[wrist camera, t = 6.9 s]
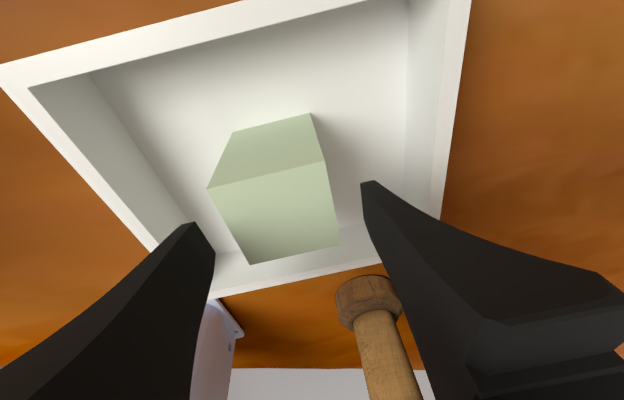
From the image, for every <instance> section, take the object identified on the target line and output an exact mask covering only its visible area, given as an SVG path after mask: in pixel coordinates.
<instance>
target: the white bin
mask: <svg viewBox="0 0 624 400" xmlns="http://www.w3.org/2000/svg"><path fill="white" fill-rule="evenodd" d="M470 7H471V0H243V1H239V2H235V3H232V4H228V5H224V6H220V7H216V8H213V9H209V10H205V11H201V12H197V13H194V14H190V15H186V16H182V17H178V18H175V19H171V20H167V21H163V22H159V23H156V24H152V25H148V26H144V27H140V28H137V29H133V30H129V31H125V32H122V33H118V34H114V35H110V36H106V37H103V38H99V39H95V40H91V41H87V42H84V43H80V44H76V45H72V46H68V47H65V48H61V49H57V50H53V51H49V52H46V53H42V54H38V55H34V56H30V57H27V58H23V59H19V60H15V61H12V62H8V63H4V64H0V87H1V88H2V89H3V90H4V91H5V92H6V93H7V95H8V96H9V97H10V98H11V99H12V100H13V101H14V102H15V103H16V105H17V106H18V107H19V108H20V109H21V110H22V111H23V112H24V113H25V114H26V116H27V117H28V118H29V119H30V120H31V121H32V122H33V123H34V124H35V126H36V127H37V128H38V129H39V130H40V131H41V132H42V133H43V134H44V136H45V137H46V138H47V139H48V140H49V141H50V142H51V143H52V144H53V145H54V147H55V148H56V149H57V150H58V151H59V152H60V153H61V154H62V155H63V157H64V158H65V159H66V160H67V161H68V162H69V163H70V164H71V165H72V166H73V168H74V169H75V170H76V171H77V172H78V173H79V174H80V175H81V176H82V178H83V179H84V180H85V181H86V182H87V183H88V184H89V185H90V186H91V188H92V189H93V190H94V191H95V192H96V193H97V194H98V195H99V196H100V197H101V199H102V200H103V201H104V202H105V203H106V204H107V205H108V206H109V207H110V209H111V210H112V211H113V212H114V213H115V214H116V215H117V216H118V217H119V219H120V220H121V221H122V222H123V223H124V224H125V225H126V226H127V227H128V228H129V230H130V231H131V232H132V233H133V234H134V235H135V236H136V237H137V238H138V240H139V241H140V242H141V243H142V244H143V245H144V246H145V247H146V248H147V250H148V251H149V252H150V253H151V252H152V251H153V250H154V249H155V248H156V247H157V246H158V245H159V244H160V243H161V242H162V241H164V240H165V239H166V238H167V237H168V236H169V235H170V234H171V233H172V232H173V231H174V230H175V229H176V228H178V227H179V226H180V225H181V224H185V223H190V222H194V221H195V222H196V223H197V225H198V226H199V228H200V229H201V231H202V232H203V234H204V235H205V237H206V239H207V240H208V242H209V243H210V245H211V246H212V248H213V249H214V251H215V252H216V257H215V267H214V275H213V279H212V283H211V287H210V291H209V294H208V298H207V300H211V299H216V298H220V297H225V296H230V295H234V294H239V293H244V292H248V291H253V290H257V289H262V288H267V287H271V286H276V285H281V284H285V283H290V282H295V281H299V280H304V279H309V278H313V277H318V276H323V275H327V274H332V273H336V272H341V271H346V270H350V269H355V268H360V267H364V266H369V265H374V264H378V263H382V261H381V259H380V257H379V255H378V253H377V251H376V249H375V247H374V245H373V243H372V241H371V239H370V236H369V233H368V230H367V228H366V225H365V222H364V218H363V208H362V199H361V189H360V183H362V182H367V181H371V180H375V181H377V182H378V183H380V184H381V185H383V186H384V187H385V188H387V189H388V190H390V191H391V192H392V193H394V194H395V195H397V196H398V197H400V198H401V199H403V200H404V201H406V202H408V203H409V204H411V205H412V206H414V207H416V208H417V209H419V210H421V211H423V212H425V213H426V214H428V215H430V216H432V217H434V218H436V219H438V220H440V214H441V207H442V200H443V193H444V187H445V180H446V173H447V166H448V159H449V152H450V145H451V138H452V131H453V124H454V118H455V111H456V104H457V97H458V90H459V83H460V76H461V69H462V62H463V55H464V49H465V42H466V35H467V28H468V21H469V14H470ZM306 113H310V116H311V119H312V122H313V125H314V128H315V131H316V135H317V138H318V141H319V144H320V147H321V150H322V154H323V157H324V160H325V164H326V169H327V174H328V179H329V184H330V189H331V194H332V199H333V204H334V209H335V214H336V218H337V223H338V228H339V233H340V238H341V243H342V245H338V246H334V247H329V248H325V249H320V250H316V251H312V252H307V253H303V254H298V255H294V256H289V257H285V258H280V259H276V260H272V261H267V262H263V263H258V264H254V265H249V263H248V261H247V260H246V258H245V256H244V255H243V253H242V251H241V249H240V248H239V246H238V244H237V242H236V241H235V239H234V237H233V235H232V234H231V232H230V230H229V229H228V227H227V225H226V223H225V222H224V220H223V218H222V216H221V215H220V213H219V211H218V209H217V208H216V206H215V204H214V203H213V201H212V199H211V197H210V196H209V194H208V192H207V190H206V188H207V186H208V184H209V182H210V179H211V177H212V175H213V173H214V171H215V169H216V167H217V164H218V162H219V160H220V158H221V156H222V154H223V151H224V149H225V147H226V145H227V143H228V141H229V139H230V136H231V134H232V132H234V131H238V130H242V129H246V128H250V127H254V126H258V125H262V124H266V123H270V122H274V121H278V120H282V119H286V118H290V117H294V116H298V115H302V114H306Z"/></svg>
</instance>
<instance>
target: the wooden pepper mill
mask: <svg viewBox="0 0 624 400" xmlns="http://www.w3.org/2000/svg"><path fill="white" fill-rule="evenodd" d="M335 303H336V308H337V314H338V319H339V322H340V323H341V324H342V325H343V326H344V327H346V328H348V329H349V330H351V331H352V332H354V333H355V336H356V340H357V344H358V349H359V353H360V357H361V362H362V366H363V371H364V375H365V380H366V384H367V389H368V393H369V398H370V400H424V399H423V396H422V394H421V391H420V388H419V385H418V383H417V380H416V378H415V375H414V372H413V369H412V367H411V364H410V361H409V359H408V356H407V353H406V350H405V348H404V345H403V342H402V339H401V337H400V334H399V331H398V328H397V325H396V322H397V320H398V318H399V316H400V315H401V313H402V310H403V307H402V305H401V302H400V299H399V297H398V294H397V292H396V290H395V287H394V285H393V283H392V281H391V280H389V279H387V278H385V277H382V276H377V275H368V276H362V277H358V278H355V279H352V280H350V281H348V282H346V283H344V284H343V285H342V286H341V287H340V288H339V289H338V290H337V292H336V295H335Z"/></svg>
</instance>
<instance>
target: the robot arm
mask: <svg viewBox="0 0 624 400" xmlns="http://www.w3.org/2000/svg"><path fill="white" fill-rule="evenodd" d="M360 189H361V199H362V208H363V218H364V222H365V225H366V228H367V230H368V233H369V236H370V239H371V241H372V243H373V245H374V247H375V249H376V251H377V253H378V255H379V257H380V259H381V261H382V263H383V265H384V267H385V269H386V271H387V273H388V275H389V277H390V279H391V281H392V283H393V285H394V287H395V290H396V292H397V294H398V297H399V299H400V302H401V305H402V307H403V310H404V312H405V315H406V318H407V320H408V323H409V326H410V328H411V331H412V334H413V336H414V339H415V342H416V345H417V347H418V350H419V353H420V356H421V359H422V361H423V364H424V367H425V370H426V373H427V376H428V378H429V382H430V384H431V387H432V390H433V393H434V396H435V399H436V400H624V360H623V359H622V358H621V357H620V356H619V355H618V354H617V353H616V352H615V351H614V349H616V348H617V347H618V346H619V345H621V344H622V343H623V342H624V293H623V292H622V291H621V290H619V289H618V288H617V287H616V286H614V285H613V284H612V283H610V282H609V281H608V280H606V279H605V278H604V277H602V276H601V275H600V274H598V273H597V272H593V271H589V270H585V269H581V268H577V267H574V266H570V265H566V264H562V263H558V262H554V261H550V260H546V259H543V258H539V257H536V256H532V255H529V254H526V253H523V252H519V251H516V250H513V249H510V248H507V247H504V246H501V245H498V244H495V243H492V242H490V241H487V240H484V239H482V238H479V237H476V236H474V235H471V234H469V233H466V232H464V231H461V230H459V229H457V228H455V227H453V226H450V225H448V224H446V223H444V222H442V221H440V220H438V219H436V218H434V217H432V216H430V215H428V214H426V213H425V212H423V211H421V210H419V209H417V208H416V207H414V206H412V205H411V204H409V203H408V202H406V201H404V200H403V199H401V198H400V197H398V196H397V195H395V194H394V193H392V192H391V191H390V190H388V189H387V188H385V187H384V186H383V185H381V184H380V183H378V182H377V181H375V180H371V181H367V182H362V183H360ZM215 257H216V252H215V251H214V249H213V248H212V246H211V245H210V243H209V242H208V240H207V239H206V237H205V235H204V234H203V232H202V231H201V229H200V228H199V226H198V225H197V223H196V222H195V221H194V222H190V223H185V224H181V225H180V226H179V227H178V228H176V229H175V230H174V231H173V232H172V233H171V234H170V235H169V236H168V237H167V238H166V239H165V240H164V241H162V242H161V243H160V244H159V245H158V246H157V247H156V248H155V249H154V250H153V251H152V252H151V253H150V254H149V255H148V256H147V257H146V258H145V259H144V260H143V261H142V262H141V263H140V264H139V265H138V266H136V267H135V268H134V269H133V270H132V271H131V272H130V273H129V274H128V275H127V276H126V277H124V278H123V279H122V280H121V281H120V282H119V283H118V284H117V285H116V286H114V287H113V288H112V289H111V290H110V291H109V292H107V293H106V294H105V295H104V296H103V297H101V298H100V299H99V300H98V301H96V302H95V303H94V304H93V305H91V306H90V307H89V308H88V309H86V310H85V311H84V312H83V313H81V314H80V315H79V316H77V317H76V318H74V319H73V320H72V321H70V322H69V323H68V324H66V325H65V326H63V327H62V328H61V329H59V330H58V331H57V332H55V333H54V334H52V335H51V336H50V337H48V338H47V339H45V340H44V341H43V342H41V343H40V344H38V345H37V346H35V347H34V348H32V349H31V350H29V351H28V352H26V353H25V354H23V355H22V356H20V357H19V358H17V359H16V360H14V361H13V362H11V363H9V364H8V365H6V366H5V367H3V368H2V369H0V400H227V396H228V389H229V382H230V375H231V369H232V362H233V355H234V348H235V342H236V339H238V338H242V337H244V331H243V330H242V329H241V327H240V326H239V325H238V324H237V322H236V321H235V320H234V318H233V317H232V316H231V315H230V313H229V312H228V311H227V310H226V308H225V307H224V306H223V305H222V303H221V302H220V301H219V299H218V298H216V299H211V300H207V298H208V294H209V291H210V287H211V283H212V279H213V275H214V267H215Z"/></svg>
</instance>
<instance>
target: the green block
mask: <svg viewBox="0 0 624 400" xmlns="http://www.w3.org/2000/svg"><path fill="white" fill-rule="evenodd" d="M206 190H207V192H208V194H209V196H210V197H211V199H212V201H213V203H214V204H215V206H216V208H217V209H218V211H219V213H220V215H221V216H222V218H223V220H224V222H225V223H226V225H227V227H228V229H229V230H230V232H231V234H232V235H233V237H234V239H235V241H236V242H237V244H238V246H239V248H240V249H241V251H242V253H243V255H244V256H245V258H246V260H247V261H248V263H249V265H254V264H258V263H263V262H267V261H272V260H276V259H280V258H285V257H289V256H294V255H298V254H303V253H307V252H312V251H316V250H320V249H325V248H329V247H334V246H338V245H342V243H341V238H340V233H339V228H338V223H337V218H336V214H335V209H334V204H333V199H332V194H331V189H330V184H329V179H328V174H327V169H326V164H325V160H324V157H323V154H322V150H321V147H320V144H319V141H318V138H317V135H316V131H315V128H314V125H313V122H312V119H311V116H310V113H306V114H302V115H298V116H294V117H290V118H286V119H282V120H278V121H274V122H270V123H266V124H262V125H258V126H254V127H250V128H246V129H242V130H238V131H234V132H232V134H231V136H230V139H229V141H228V143H227V145H226V147H225V149H224V151H223V154H222V156H221V158H220V160H219V162H218V164H217V167H216V169H215V171H214V173H213V175H212V177H211V179H210V182H209V184H208V186H207V188H206Z"/></svg>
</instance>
